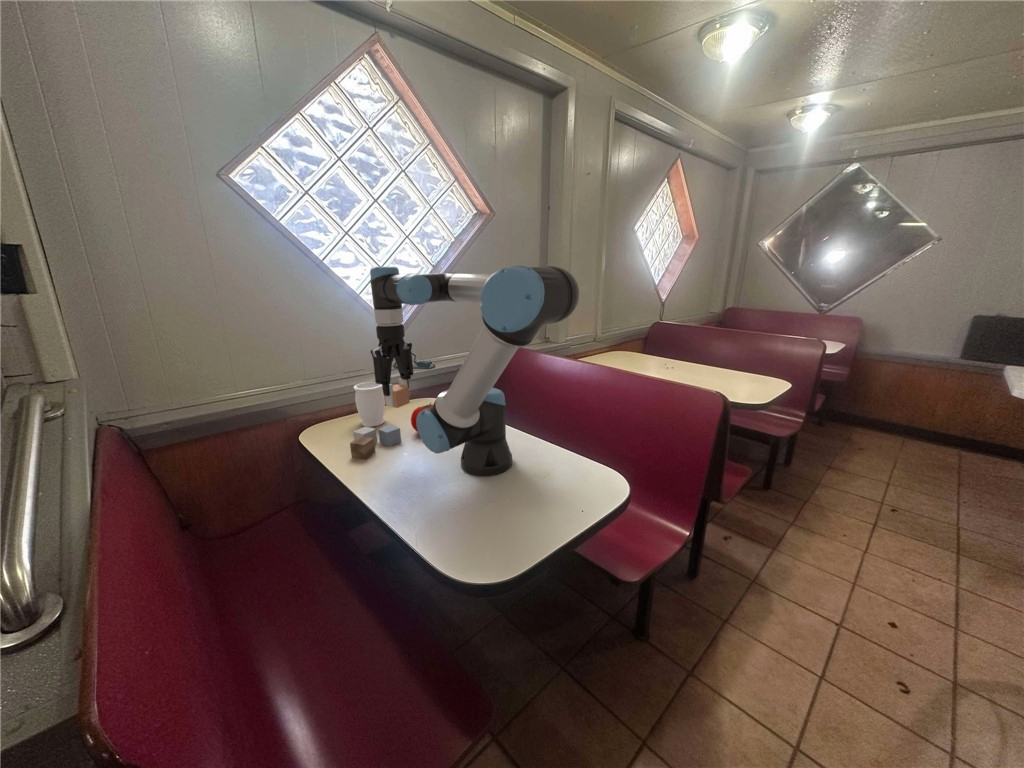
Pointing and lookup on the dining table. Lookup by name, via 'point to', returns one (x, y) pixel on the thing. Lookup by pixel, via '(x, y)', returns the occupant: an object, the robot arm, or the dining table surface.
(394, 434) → the slate cube
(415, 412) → the tomato
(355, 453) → the walnut cube
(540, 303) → the robot arm
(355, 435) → the grey cube
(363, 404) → the jar
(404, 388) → the terracotta cube
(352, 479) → the dining table surface
